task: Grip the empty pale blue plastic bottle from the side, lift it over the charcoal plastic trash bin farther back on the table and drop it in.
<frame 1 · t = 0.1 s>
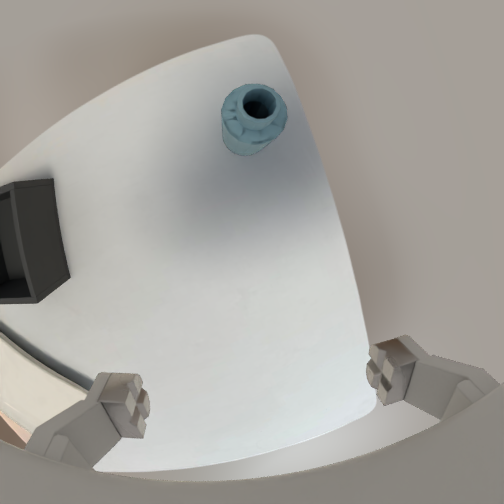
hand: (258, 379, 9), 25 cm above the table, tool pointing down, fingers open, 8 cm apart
square plate: (37, 392, 37), on the table
bin: (26, 235, 30), on the table
bottle: (244, 134, 30), on the table
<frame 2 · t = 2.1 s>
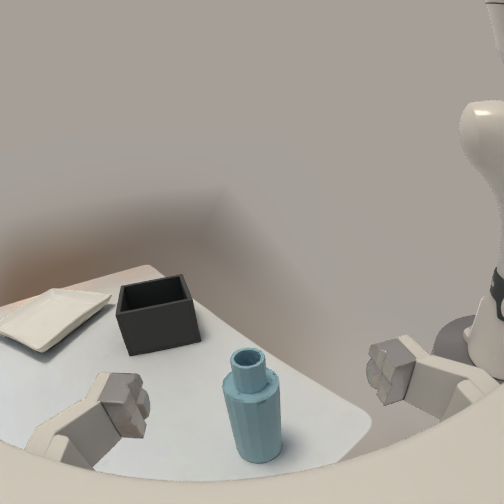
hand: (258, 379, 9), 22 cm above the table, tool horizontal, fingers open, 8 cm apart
square plate: (50, 324, 55), on the table
bin: (162, 331, 53), on the table
bottle: (259, 446, 26), on the table
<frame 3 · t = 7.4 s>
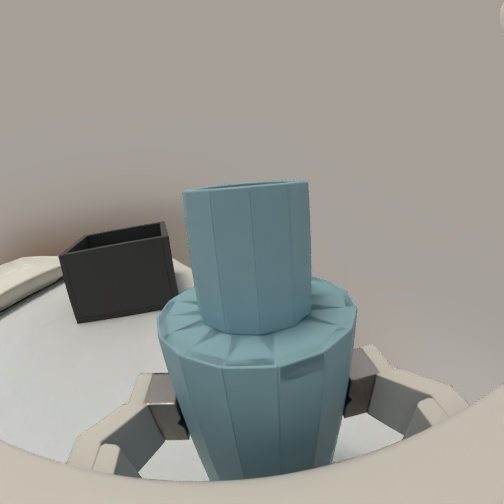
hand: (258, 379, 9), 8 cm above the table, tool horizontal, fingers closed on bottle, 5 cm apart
square plate: (7, 292, 40), on the table
bin: (130, 294, 37), on the table
bottle: (271, 492, 10), on the table, touching gripper
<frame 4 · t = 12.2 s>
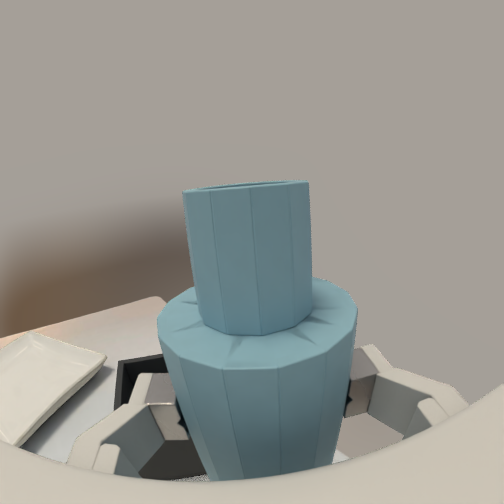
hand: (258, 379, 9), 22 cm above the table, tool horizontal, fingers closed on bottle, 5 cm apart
square plate: (25, 391, 32), on the table
bin: (191, 433, 29), on the table
bottle: (271, 492, 10), point 14 cm above the table, touching gripper
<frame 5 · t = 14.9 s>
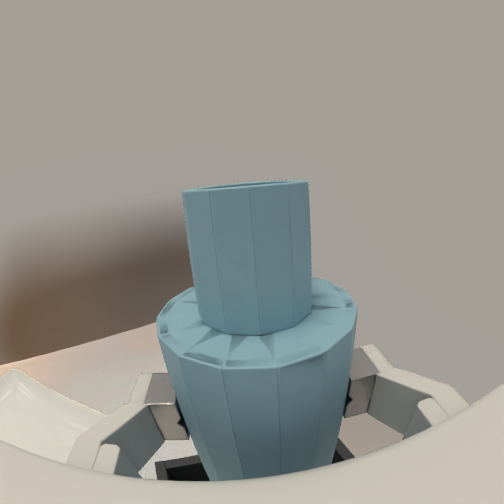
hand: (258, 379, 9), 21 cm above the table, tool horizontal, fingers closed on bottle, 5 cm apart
square plate: (13, 460, 17), on the table
bottle: (271, 492, 10), point 13 cm above the table, touching gripper
when the fingers open (15 cm above the table, at t = 17.0 s): bottle drops 7 cm, resting on bin.
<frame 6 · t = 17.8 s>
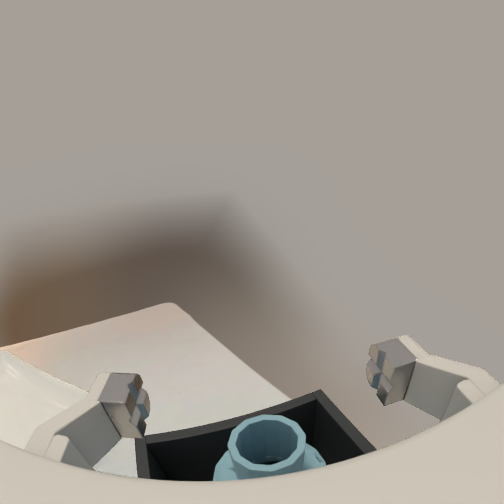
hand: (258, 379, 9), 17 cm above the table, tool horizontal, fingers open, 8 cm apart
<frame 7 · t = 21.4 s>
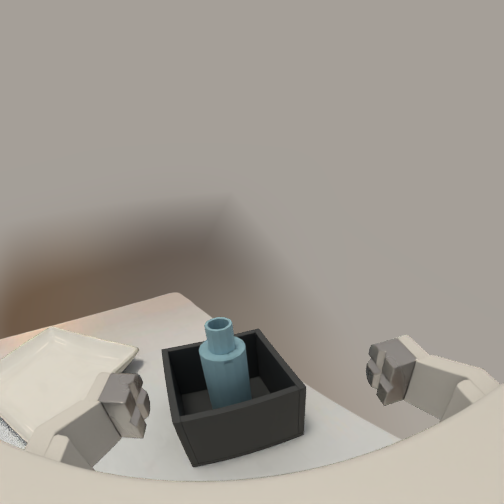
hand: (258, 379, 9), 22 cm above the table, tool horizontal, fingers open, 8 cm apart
square plate: (51, 386, 35), on the table
bin: (232, 416, 32), on the table
bottle: (233, 413, 32), point 1 cm above the table, touching bin
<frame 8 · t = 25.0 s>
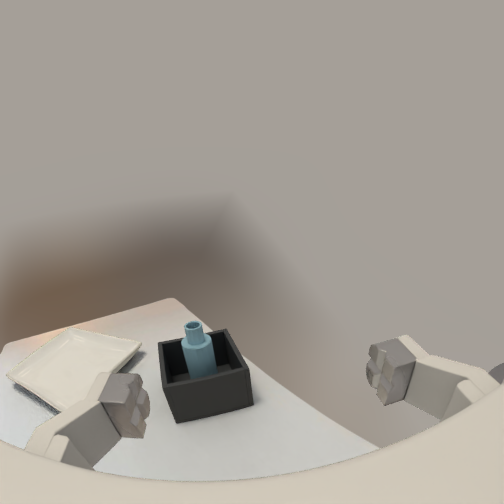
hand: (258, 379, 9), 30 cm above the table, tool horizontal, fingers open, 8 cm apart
square plate: (74, 373, 50), on the table
bin: (206, 390, 47), on the table
bottle: (207, 388, 47), point 1 cm above the table, touching bin
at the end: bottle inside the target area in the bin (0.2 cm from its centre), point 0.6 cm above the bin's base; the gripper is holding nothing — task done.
